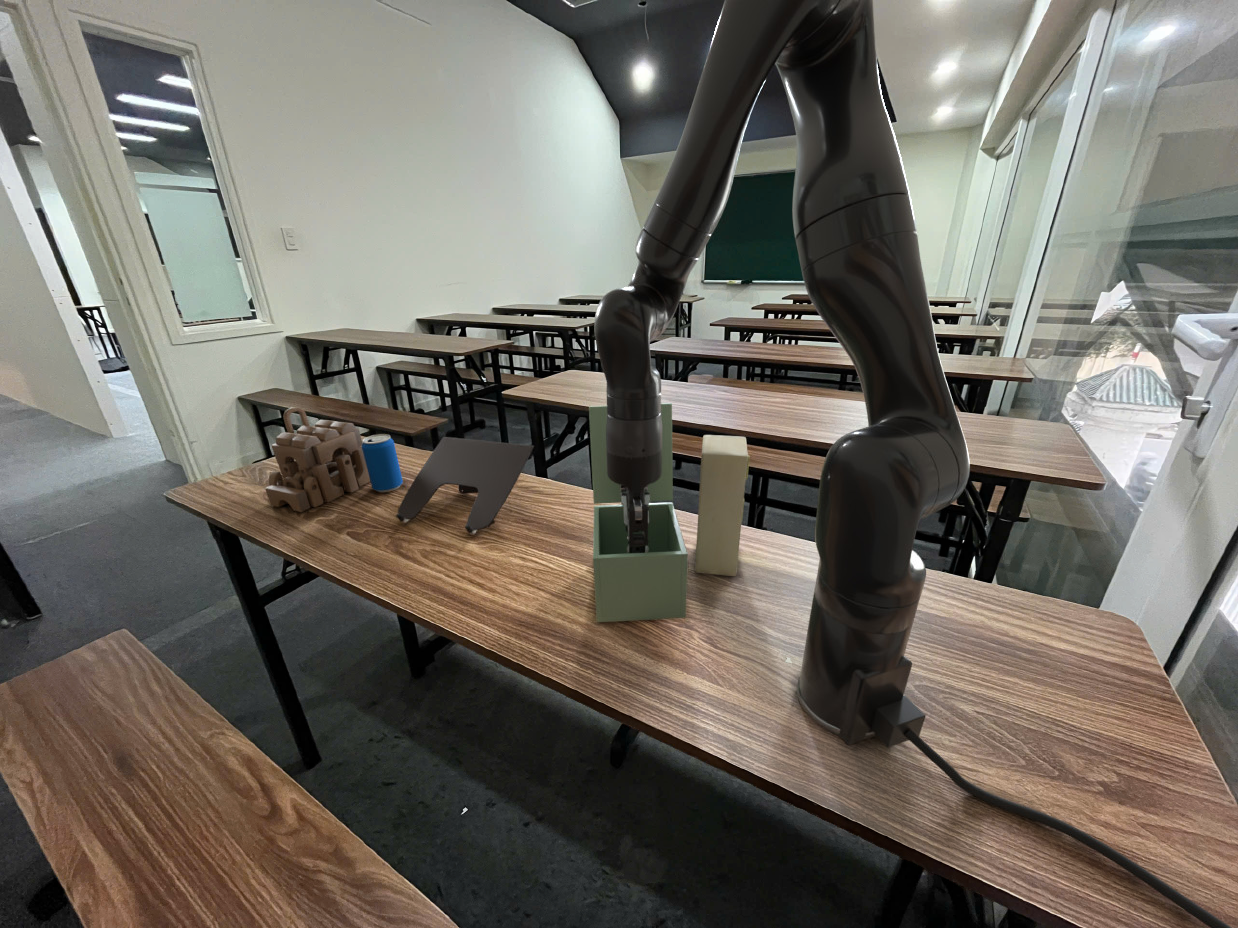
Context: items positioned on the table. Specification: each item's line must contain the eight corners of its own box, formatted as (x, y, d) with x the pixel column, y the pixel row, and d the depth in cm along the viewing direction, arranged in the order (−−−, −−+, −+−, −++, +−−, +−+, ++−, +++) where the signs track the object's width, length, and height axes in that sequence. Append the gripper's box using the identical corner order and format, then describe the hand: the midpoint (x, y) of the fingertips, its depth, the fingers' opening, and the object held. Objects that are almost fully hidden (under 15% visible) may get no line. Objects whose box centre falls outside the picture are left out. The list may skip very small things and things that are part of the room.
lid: (671, 403, 73) (667, 400, 77) (588, 406, 72) (589, 403, 77) (672, 500, 76) (668, 491, 81) (593, 503, 76) (594, 494, 81)
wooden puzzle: (308, 514, 99) (280, 429, 91) (261, 503, 104) (231, 422, 97) (391, 472, 118) (373, 399, 110) (347, 465, 123) (328, 394, 115)
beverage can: (375, 483, 112) (362, 435, 107) (404, 479, 113) (394, 432, 109) (370, 495, 106) (357, 445, 101) (402, 491, 108) (390, 441, 103)
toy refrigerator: (741, 578, 76) (753, 455, 67) (694, 573, 77) (700, 453, 69) (740, 550, 83) (750, 436, 74) (697, 546, 84) (702, 434, 76)
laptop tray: (404, 539, 100) (381, 514, 93) (456, 457, 114) (439, 430, 107) (501, 556, 93) (483, 530, 86) (543, 466, 107) (531, 438, 100)
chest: (685, 618, 68) (688, 554, 63) (596, 622, 67) (592, 558, 63) (671, 558, 81) (672, 502, 77) (597, 561, 81) (593, 505, 76)
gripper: (669, 465, 58) (666, 574, 64) (655, 425, 71) (654, 520, 77) (607, 467, 58) (611, 577, 64) (605, 427, 71) (608, 522, 77)
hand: (634, 546), depth 71 cm, fingers open, 8 cm apart
